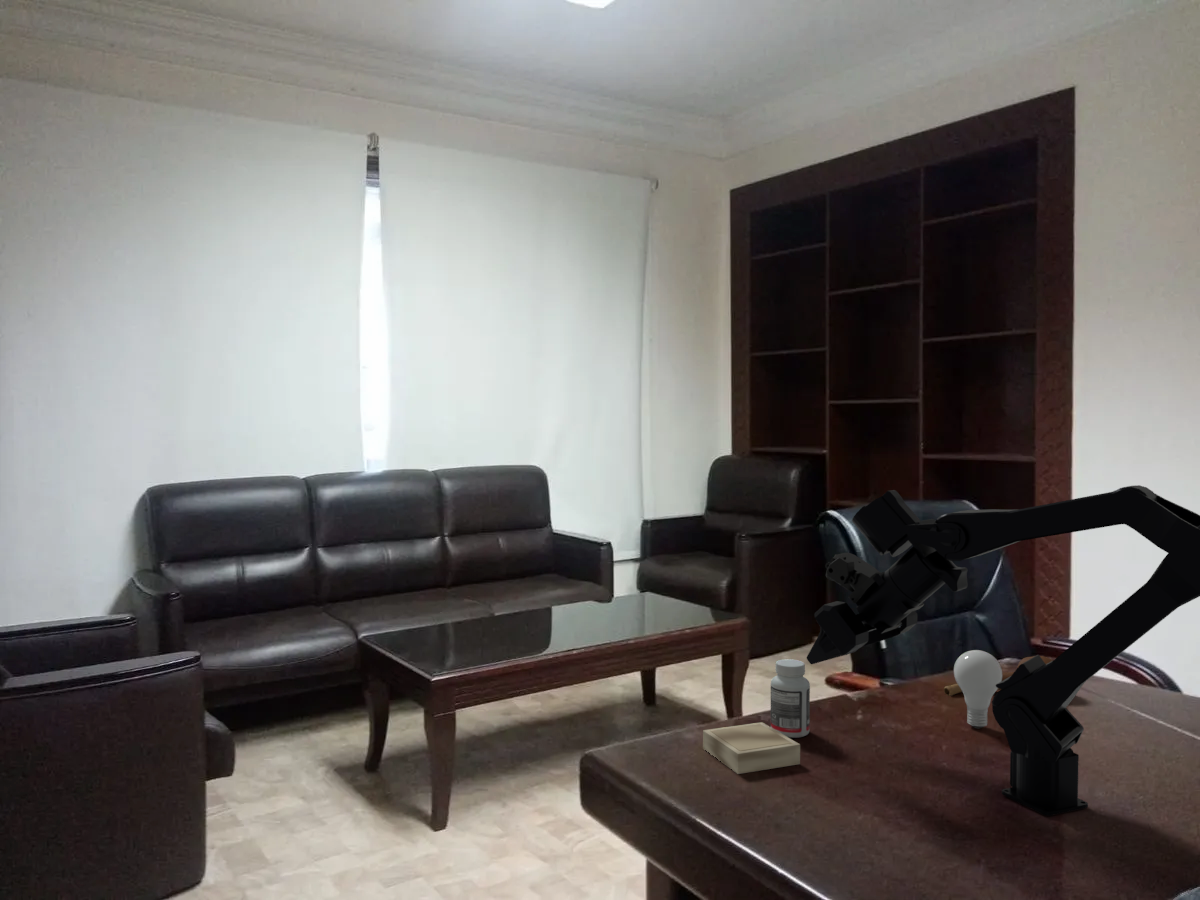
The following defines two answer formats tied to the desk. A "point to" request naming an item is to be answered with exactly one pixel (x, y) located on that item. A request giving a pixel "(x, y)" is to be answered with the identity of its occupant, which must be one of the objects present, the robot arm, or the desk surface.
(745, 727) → the plinth
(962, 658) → the lightbulb
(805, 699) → the pill bottle
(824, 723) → the desk surface
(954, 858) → the desk surface
